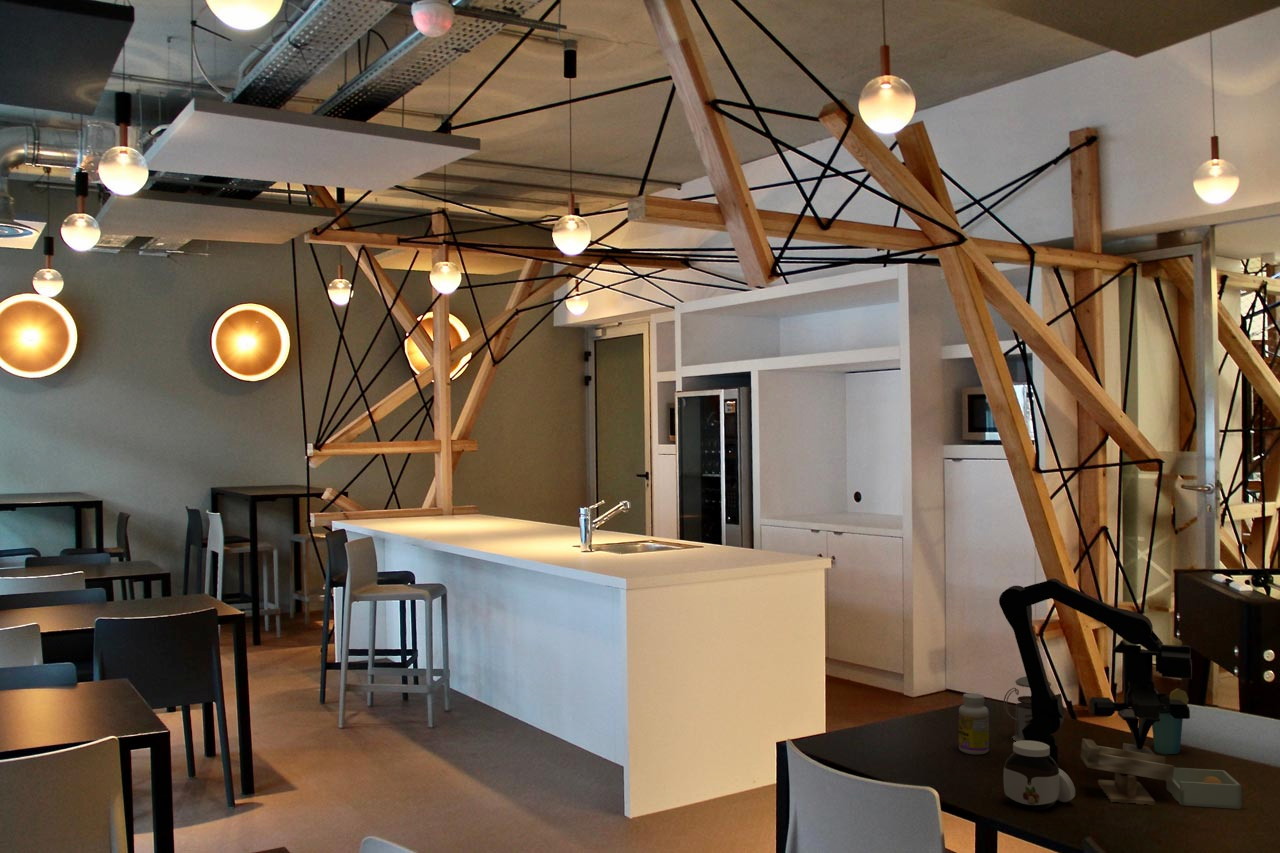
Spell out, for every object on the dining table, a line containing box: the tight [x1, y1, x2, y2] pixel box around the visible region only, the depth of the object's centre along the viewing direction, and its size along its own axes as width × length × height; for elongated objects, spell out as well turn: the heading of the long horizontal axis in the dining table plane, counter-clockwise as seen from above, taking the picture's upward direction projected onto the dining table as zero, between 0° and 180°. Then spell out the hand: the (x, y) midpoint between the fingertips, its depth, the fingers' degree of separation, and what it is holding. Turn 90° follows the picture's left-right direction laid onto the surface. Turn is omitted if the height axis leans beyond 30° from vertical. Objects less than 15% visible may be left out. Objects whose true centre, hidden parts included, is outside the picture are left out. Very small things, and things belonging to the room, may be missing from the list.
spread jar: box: [1003, 740, 1076, 811], centre depth 215 cm, size 12×11×12 cm
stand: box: [1097, 772, 1156, 806], centre depth 220 cm, size 8×12×5 cm, turn 169°
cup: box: [1151, 688, 1190, 755], centre depth 250 cm, size 14×8×15 cm, turn 122°
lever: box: [1079, 738, 1175, 782], centre depth 225 cm, size 16×17×4 cm
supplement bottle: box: [958, 692, 990, 756], centre depth 250 cm, size 7×7×13 cm
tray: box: [1165, 767, 1243, 810], centre depth 218 cm, size 11×10×4 cm
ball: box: [1202, 776, 1223, 784], centre depth 217 cm, size 4×4×4 cm
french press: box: [1003, 635, 1052, 742], centre depth 259 cm, size 10×12×25 cm
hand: (1139, 748), depth 230 cm, fingers closed, pressing on lever
